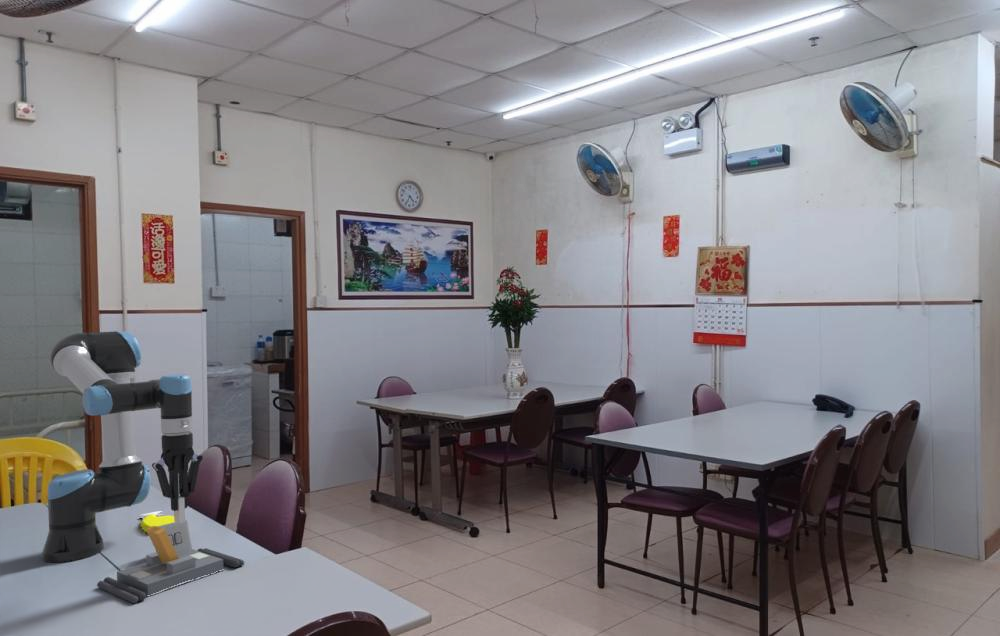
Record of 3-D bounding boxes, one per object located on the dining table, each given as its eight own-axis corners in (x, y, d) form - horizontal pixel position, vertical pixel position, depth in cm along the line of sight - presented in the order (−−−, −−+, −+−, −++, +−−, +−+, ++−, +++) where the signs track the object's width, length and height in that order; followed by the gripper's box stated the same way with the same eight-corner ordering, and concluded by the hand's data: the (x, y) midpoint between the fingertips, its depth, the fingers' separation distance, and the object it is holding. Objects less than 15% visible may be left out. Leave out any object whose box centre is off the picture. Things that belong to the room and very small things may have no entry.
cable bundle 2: (196, 556, 195) (196, 549, 195) (207, 553, 198) (207, 546, 198) (234, 569, 184) (234, 562, 184) (246, 565, 187) (245, 558, 187)
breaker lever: (161, 563, 182) (145, 530, 178) (168, 558, 183) (152, 525, 180) (174, 568, 178) (158, 534, 174) (181, 563, 179) (165, 529, 176)
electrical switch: (160, 561, 192) (157, 528, 193) (151, 559, 196) (149, 526, 196) (192, 552, 200) (190, 519, 200) (184, 550, 203) (181, 518, 203)
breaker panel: (117, 583, 177) (116, 562, 177) (191, 559, 193) (190, 540, 193) (148, 596, 167) (147, 574, 167) (223, 570, 183) (222, 550, 183)
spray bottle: (147, 537, 216) (131, 522, 235) (184, 529, 223) (166, 515, 242) (147, 528, 216) (131, 513, 235) (184, 520, 223) (166, 506, 242)
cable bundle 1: (97, 588, 174) (96, 580, 174) (111, 583, 177) (111, 576, 177) (133, 605, 163) (133, 596, 163) (148, 600, 165) (147, 591, 165)
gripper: (159, 438, 175) (162, 530, 175) (207, 430, 185) (210, 517, 186) (145, 435, 179) (148, 525, 180) (193, 428, 190) (195, 513, 190)
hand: (179, 521), depth 183 cm, fingers closed
